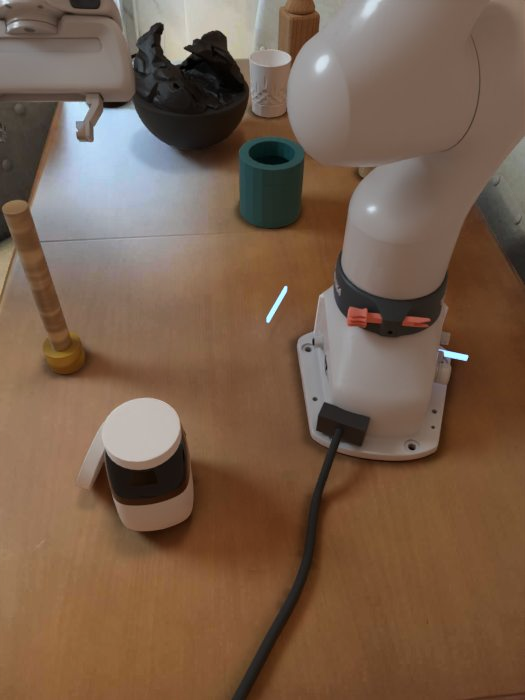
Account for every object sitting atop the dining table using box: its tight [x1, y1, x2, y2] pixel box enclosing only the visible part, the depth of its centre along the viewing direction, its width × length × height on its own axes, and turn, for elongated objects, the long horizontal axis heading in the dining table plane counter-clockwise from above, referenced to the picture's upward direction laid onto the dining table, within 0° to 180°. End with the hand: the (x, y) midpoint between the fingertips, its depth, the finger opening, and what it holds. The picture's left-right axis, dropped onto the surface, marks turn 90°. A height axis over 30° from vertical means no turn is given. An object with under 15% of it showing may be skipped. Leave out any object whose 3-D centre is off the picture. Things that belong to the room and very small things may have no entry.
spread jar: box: [75, 397, 195, 532], centre depth 57 cm, size 12×11×12 cm
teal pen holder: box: [238, 135, 306, 229], centre depth 91 cm, size 10×10×10 cm
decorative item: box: [277, 0, 321, 71], centre depth 121 cm, size 7×7×20 cm
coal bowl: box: [131, 21, 250, 151], centre depth 102 cm, size 20×20×19 cm
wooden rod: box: [1, 199, 87, 375], centre depth 65 cm, size 4×4×22 cm
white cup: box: [248, 48, 292, 119], centre depth 114 cm, size 8×8×10 cm
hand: (41, 140), depth 64 cm, fingers open, 8 cm apart
